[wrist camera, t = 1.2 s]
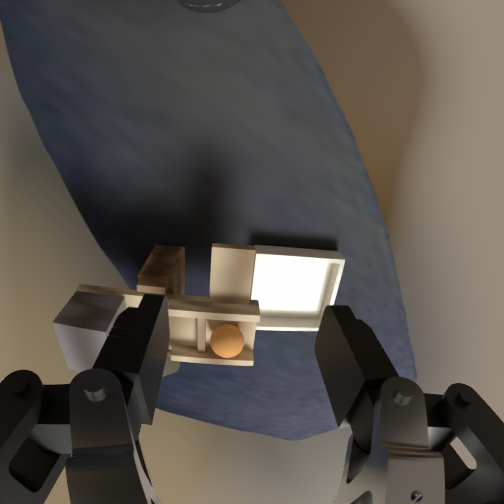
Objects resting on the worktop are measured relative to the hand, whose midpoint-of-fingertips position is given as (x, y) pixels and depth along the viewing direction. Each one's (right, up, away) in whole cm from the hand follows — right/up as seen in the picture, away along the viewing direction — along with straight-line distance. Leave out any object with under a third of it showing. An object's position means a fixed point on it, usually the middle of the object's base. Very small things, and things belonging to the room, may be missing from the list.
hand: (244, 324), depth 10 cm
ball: (-2, -6, +21) cm, 22 cm away
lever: (-9, -2, +20) cm, 22 cm away
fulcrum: (-11, -1, +30) cm, 32 cm away
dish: (+6, -2, +31) cm, 32 cm away
